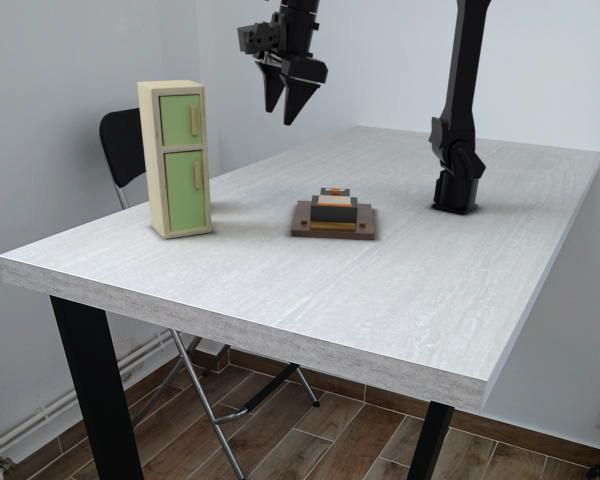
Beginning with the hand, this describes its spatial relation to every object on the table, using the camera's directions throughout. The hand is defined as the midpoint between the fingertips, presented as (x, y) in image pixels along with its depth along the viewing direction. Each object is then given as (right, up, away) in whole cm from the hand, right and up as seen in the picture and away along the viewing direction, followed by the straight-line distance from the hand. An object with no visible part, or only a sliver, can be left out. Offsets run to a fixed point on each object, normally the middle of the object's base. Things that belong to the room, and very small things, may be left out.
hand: (277, 118), depth 105 cm
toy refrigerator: (-15, -19, -4) cm, 25 cm away
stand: (+9, -16, +2) cm, 19 cm away
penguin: (+9, -14, +3) cm, 17 cm away
